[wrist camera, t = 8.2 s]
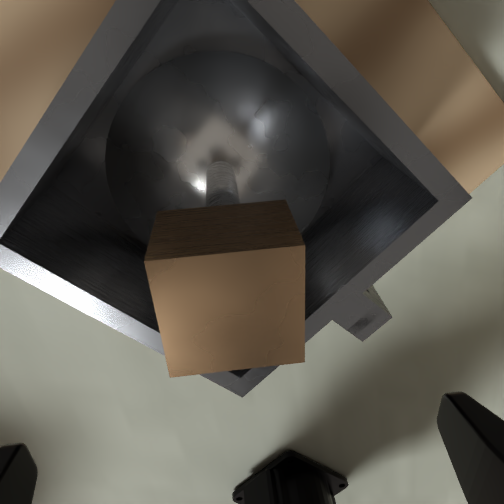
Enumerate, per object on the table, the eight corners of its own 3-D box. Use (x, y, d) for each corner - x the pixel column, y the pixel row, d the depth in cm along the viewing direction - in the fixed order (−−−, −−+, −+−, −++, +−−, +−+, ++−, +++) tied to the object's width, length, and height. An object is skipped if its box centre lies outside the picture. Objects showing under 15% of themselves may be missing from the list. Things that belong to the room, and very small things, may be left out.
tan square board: (522, 136, 19) (531, 140, 19) (242, 384, 25) (242, 392, 25) (168, -336, 11) (167, -353, 11) (-109, 191, 18) (-118, 196, 17)
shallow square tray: (432, 182, 19) (507, 236, 14) (266, 335, 23) (281, 418, 18) (195, -69, 14) (189, -117, 9) (27, 183, 17) (-41, 246, 13)
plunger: (369, 157, 18) (519, 285, 9) (232, 294, 21) (250, 488, 12) (201, -11, 14) (193, -54, 6) (65, 184, 17) (-78, 350, 9)
